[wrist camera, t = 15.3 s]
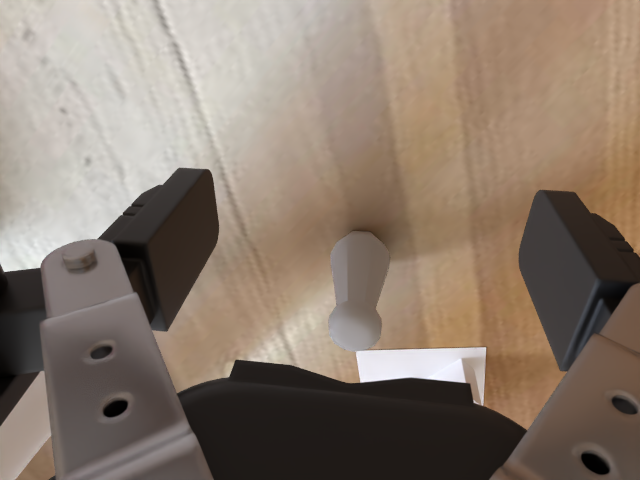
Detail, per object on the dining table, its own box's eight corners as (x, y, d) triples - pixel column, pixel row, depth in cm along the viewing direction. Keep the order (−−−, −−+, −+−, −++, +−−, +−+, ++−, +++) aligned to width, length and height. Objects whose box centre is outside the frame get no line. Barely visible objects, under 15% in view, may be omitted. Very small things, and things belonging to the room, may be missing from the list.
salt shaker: (367, 212, 45) (362, 297, 34) (401, 252, 47) (406, 344, 36) (320, 241, 47) (302, 330, 37) (355, 278, 50) (347, 372, 39)
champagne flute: (91, 255, 52) (-92, 453, 32) (150, 273, 52) (6, 479, 32) (90, 299, 56) (-75, 501, 35) (145, 315, 56) (12, 524, 36)
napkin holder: (486, 345, 53) (496, 386, 48) (484, 411, 58) (493, 453, 54) (354, 350, 55) (351, 389, 50) (365, 412, 61) (363, 452, 56)
